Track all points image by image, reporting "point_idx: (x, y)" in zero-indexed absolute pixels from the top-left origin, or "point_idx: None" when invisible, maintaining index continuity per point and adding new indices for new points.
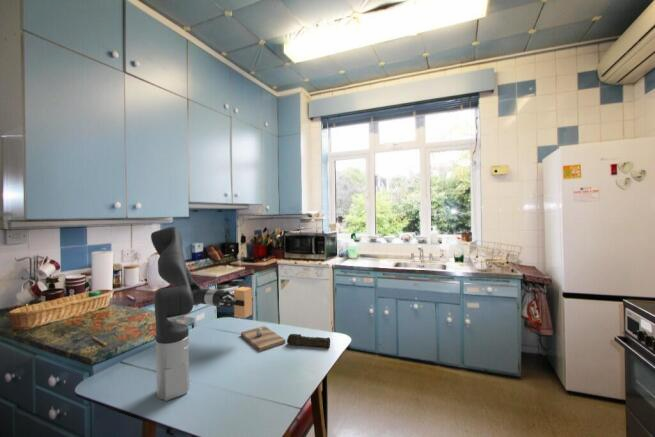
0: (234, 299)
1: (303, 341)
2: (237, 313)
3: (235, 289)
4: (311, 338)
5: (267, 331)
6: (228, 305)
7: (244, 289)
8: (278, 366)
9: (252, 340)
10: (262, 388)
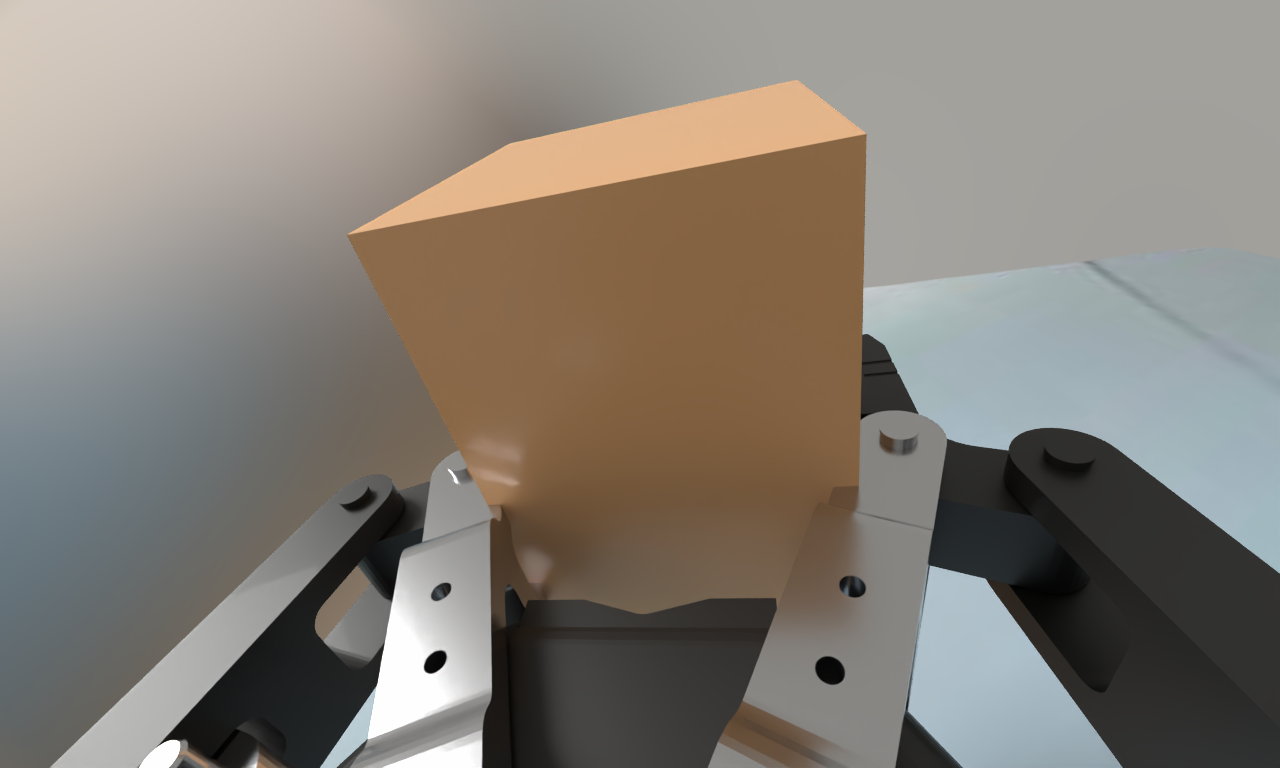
0: (857, 478)
1: None
2: None
3: (789, 143)
4: None
5: None
6: (1095, 647)
7: (675, 117)
8: (931, 384)
9: None
10: (1135, 350)
